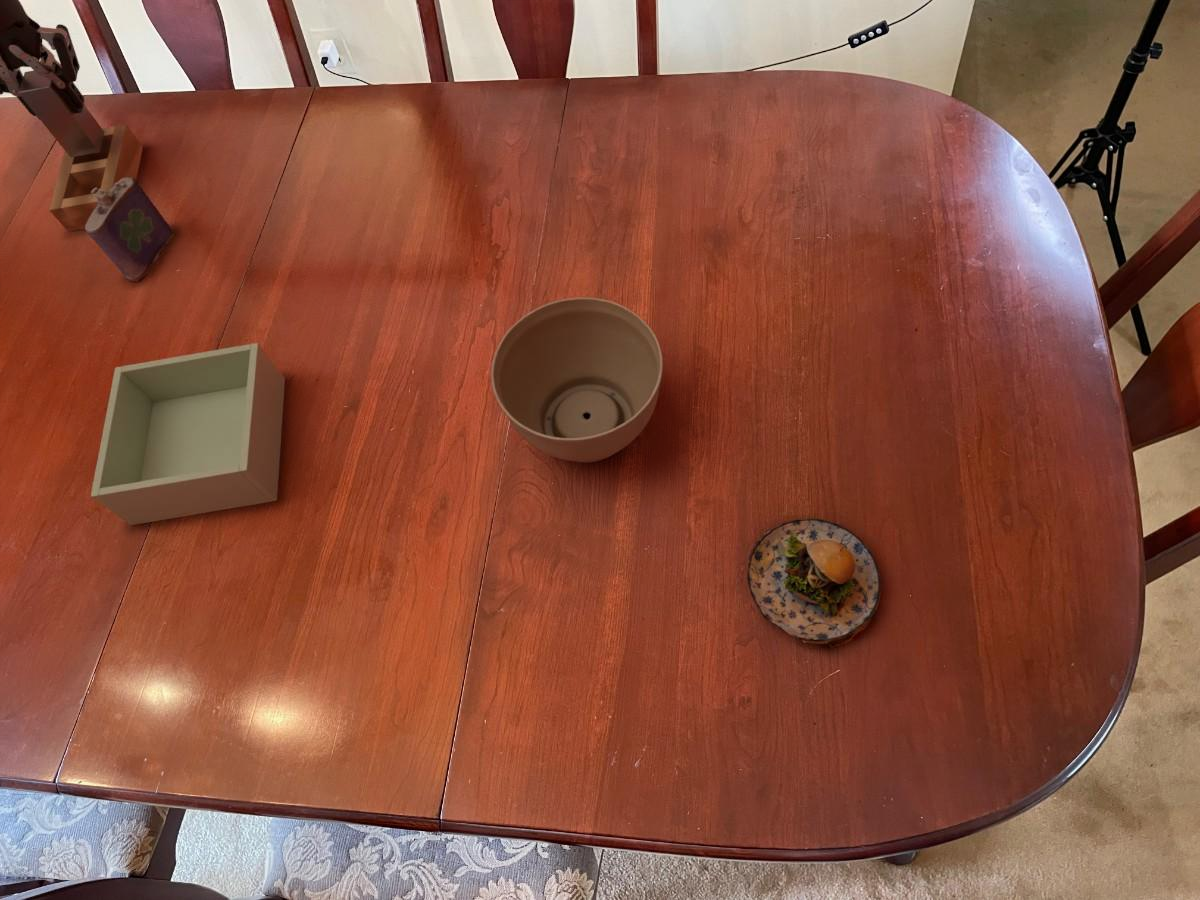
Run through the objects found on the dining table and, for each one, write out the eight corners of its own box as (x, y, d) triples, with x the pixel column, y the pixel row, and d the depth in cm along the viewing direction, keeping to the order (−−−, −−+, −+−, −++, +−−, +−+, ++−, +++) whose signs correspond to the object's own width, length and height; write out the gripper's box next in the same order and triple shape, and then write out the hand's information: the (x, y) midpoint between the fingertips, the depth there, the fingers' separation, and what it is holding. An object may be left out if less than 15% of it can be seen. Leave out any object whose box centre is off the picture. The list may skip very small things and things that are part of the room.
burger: (737, 532, 81) (740, 497, 74) (862, 518, 80) (876, 482, 74) (758, 655, 75) (763, 629, 68) (893, 642, 74) (911, 614, 68)
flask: (140, 284, 105) (86, 221, 96) (121, 280, 106) (65, 217, 97) (178, 230, 109) (130, 165, 100) (159, 226, 110) (109, 161, 101)
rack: (68, 232, 111) (48, 209, 108) (87, 157, 119) (69, 134, 115) (128, 221, 111) (109, 199, 108) (143, 147, 118) (126, 123, 115)
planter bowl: (550, 520, 83) (530, 468, 74) (490, 399, 91) (466, 338, 82) (694, 451, 85) (693, 392, 76) (624, 339, 93) (615, 273, 84)
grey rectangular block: (70, 157, 111) (17, 92, 103) (75, 137, 113) (24, 71, 105) (100, 152, 111) (49, 86, 103) (104, 132, 113) (55, 66, 105)
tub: (130, 525, 88) (90, 496, 82) (150, 401, 96) (114, 367, 90) (277, 500, 88) (246, 470, 82) (285, 378, 96) (258, 342, 90)
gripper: (-112, 13, 91) (2, 141, 106) (17, -11, 91) (112, 122, 106) (-92, -27, 95) (14, 102, 110) (31, -50, 95) (121, 83, 110)
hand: (62, 111), depth 108 cm, fingers closed on grey rectangular block, 4 cm apart
